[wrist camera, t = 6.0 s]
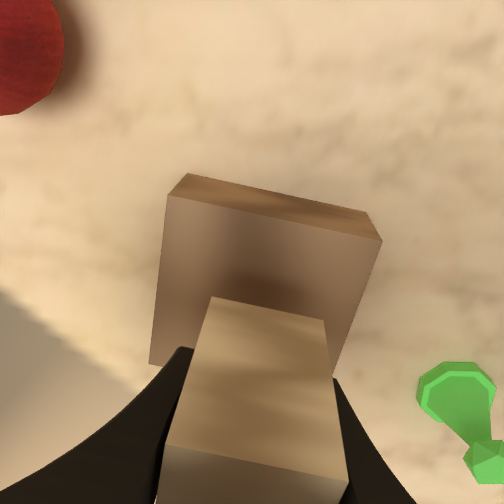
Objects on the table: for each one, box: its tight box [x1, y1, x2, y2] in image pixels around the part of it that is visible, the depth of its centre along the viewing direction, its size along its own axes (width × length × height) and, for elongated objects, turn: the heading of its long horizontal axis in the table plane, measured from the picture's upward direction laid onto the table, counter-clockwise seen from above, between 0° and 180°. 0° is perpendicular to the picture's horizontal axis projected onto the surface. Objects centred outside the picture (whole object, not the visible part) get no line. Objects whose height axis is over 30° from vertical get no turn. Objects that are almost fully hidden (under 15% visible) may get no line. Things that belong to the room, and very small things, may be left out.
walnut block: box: [148, 173, 382, 374], centre depth 20 cm, size 9×9×4 cm
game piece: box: [417, 362, 504, 484], centre depth 21 cm, size 4×4×6 cm
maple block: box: [156, 297, 349, 504], centre depth 12 cm, size 4×4×6 cm
